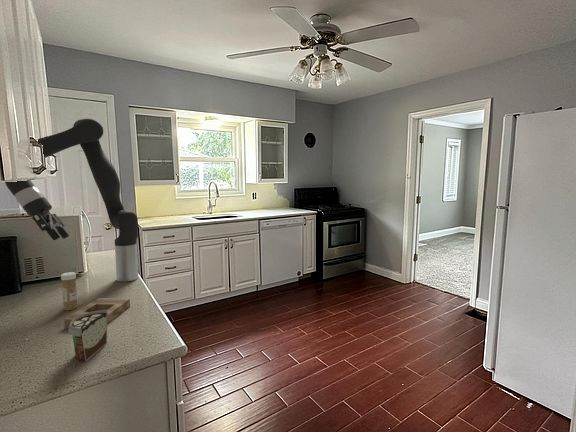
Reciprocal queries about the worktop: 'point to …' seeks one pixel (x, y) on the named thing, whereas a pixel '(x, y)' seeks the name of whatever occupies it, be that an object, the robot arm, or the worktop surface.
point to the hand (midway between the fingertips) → (62, 238)
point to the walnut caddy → (102, 308)
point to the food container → (89, 333)
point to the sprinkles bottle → (69, 290)
